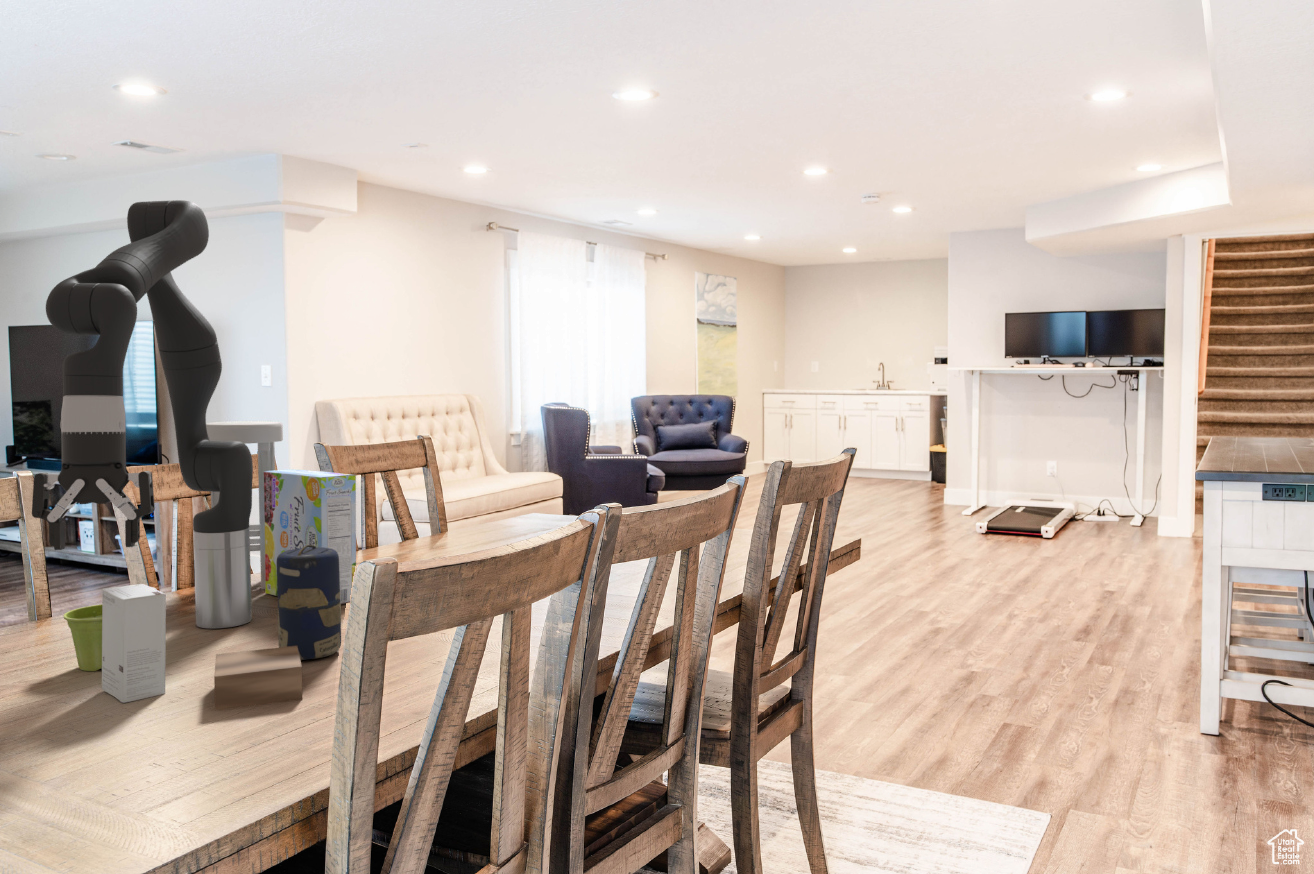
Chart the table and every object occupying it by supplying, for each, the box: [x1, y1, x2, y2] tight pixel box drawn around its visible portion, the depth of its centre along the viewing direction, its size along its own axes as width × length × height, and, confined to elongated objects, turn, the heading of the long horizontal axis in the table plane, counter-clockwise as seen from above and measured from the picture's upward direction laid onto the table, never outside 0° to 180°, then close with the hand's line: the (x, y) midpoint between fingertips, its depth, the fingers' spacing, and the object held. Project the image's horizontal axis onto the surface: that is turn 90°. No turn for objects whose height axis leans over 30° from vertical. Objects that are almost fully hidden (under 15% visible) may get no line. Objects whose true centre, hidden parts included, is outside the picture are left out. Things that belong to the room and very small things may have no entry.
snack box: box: [264, 468, 357, 605], centre depth 188 cm, size 22×9×26 cm, turn 52°
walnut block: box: [213, 646, 303, 712], centre depth 132 cm, size 11×11×5 cm
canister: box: [277, 545, 342, 661], centre depth 149 cm, size 10×10×18 cm
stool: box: [206, 420, 284, 591], centre depth 199 cm, size 16×16×35 cm
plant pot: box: [63, 604, 102, 672], centre depth 144 cm, size 9×9×9 cm
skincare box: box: [101, 583, 167, 704], centre depth 131 cm, size 8×6×15 cm
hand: (95, 548), depth 127 cm, fingers open, 8 cm apart
